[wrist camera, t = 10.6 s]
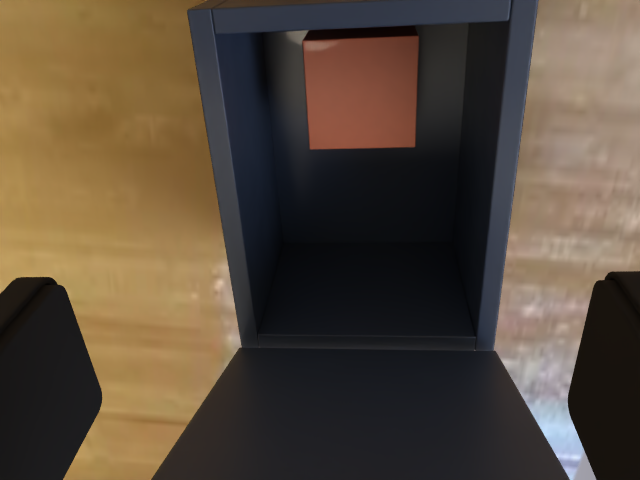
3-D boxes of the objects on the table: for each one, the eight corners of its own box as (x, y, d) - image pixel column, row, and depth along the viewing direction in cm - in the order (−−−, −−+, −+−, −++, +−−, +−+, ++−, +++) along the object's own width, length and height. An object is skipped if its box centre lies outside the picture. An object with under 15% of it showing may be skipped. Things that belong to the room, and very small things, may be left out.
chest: (242, -17, 28) (186, 9, 20) (488, -31, 27) (540, -9, 19) (272, 247, 36) (241, 348, 28) (464, 246, 35) (494, 351, 26)
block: (313, 22, 28) (301, 40, 24) (412, 17, 28) (419, 35, 23) (318, 118, 31) (309, 150, 26) (409, 115, 30) (415, 147, 26)
